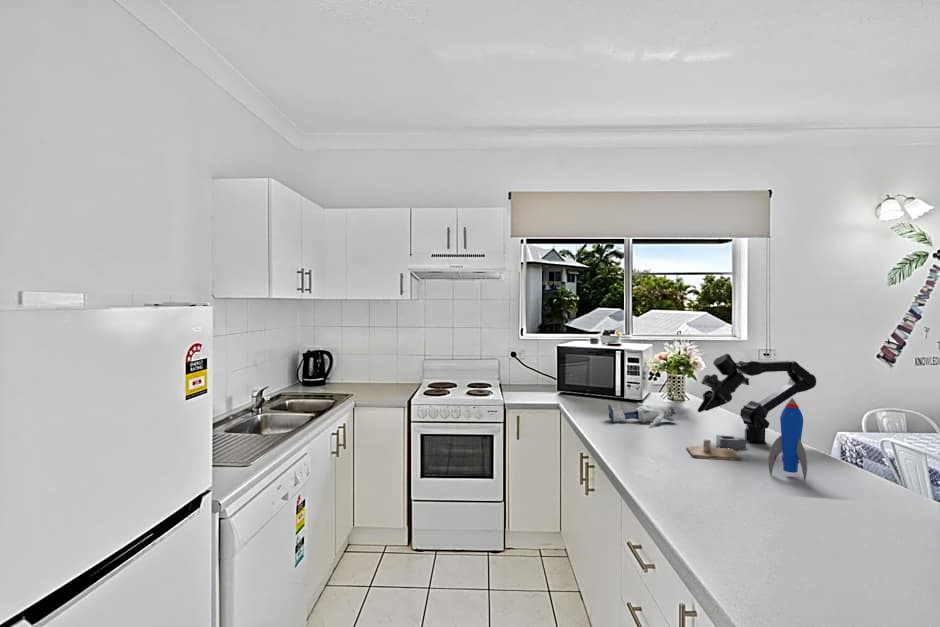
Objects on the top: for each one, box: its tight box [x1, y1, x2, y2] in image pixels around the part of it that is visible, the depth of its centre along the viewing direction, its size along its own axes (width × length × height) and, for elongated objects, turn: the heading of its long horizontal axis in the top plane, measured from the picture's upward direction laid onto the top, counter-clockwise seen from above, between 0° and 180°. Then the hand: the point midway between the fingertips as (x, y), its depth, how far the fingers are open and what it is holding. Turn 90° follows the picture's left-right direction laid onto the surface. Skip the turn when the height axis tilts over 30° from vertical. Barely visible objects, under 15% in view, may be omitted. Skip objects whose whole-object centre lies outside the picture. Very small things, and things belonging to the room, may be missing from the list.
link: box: [715, 434, 747, 450], centre depth 222 cm, size 10×7×4 cm
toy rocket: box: [767, 397, 808, 482], centre depth 185 cm, size 11×10×25 cm
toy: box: [608, 402, 678, 428], centre depth 265 cm, size 23×8×30 cm
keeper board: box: [685, 439, 742, 461], centre depth 210 cm, size 16×12×5 cm
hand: (701, 410), depth 227 cm, fingers open, 9 cm apart
